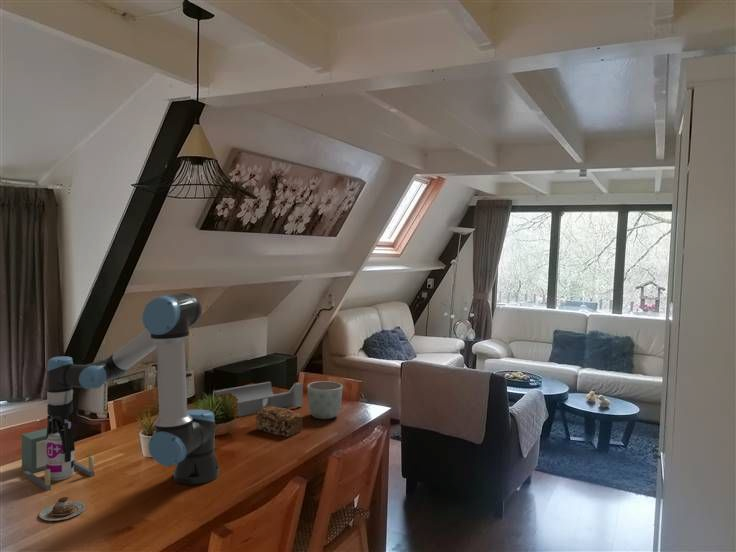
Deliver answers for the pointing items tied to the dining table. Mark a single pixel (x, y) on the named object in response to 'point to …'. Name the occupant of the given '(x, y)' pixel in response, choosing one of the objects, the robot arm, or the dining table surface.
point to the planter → (324, 399)
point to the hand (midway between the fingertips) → (60, 467)
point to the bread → (278, 421)
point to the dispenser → (42, 458)
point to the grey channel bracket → (263, 397)
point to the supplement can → (56, 458)
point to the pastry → (62, 509)
